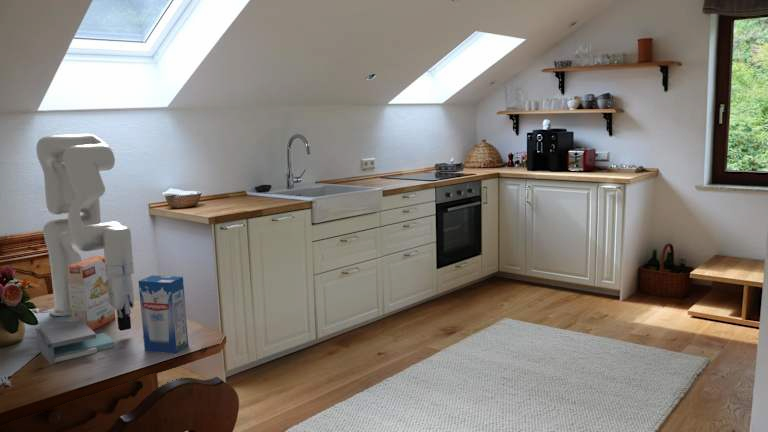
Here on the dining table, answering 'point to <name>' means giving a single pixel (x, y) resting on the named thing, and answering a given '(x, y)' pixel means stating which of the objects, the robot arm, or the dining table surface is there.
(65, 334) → the grey slotted box
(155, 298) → the milk carton
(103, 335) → the tile
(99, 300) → the cracker box
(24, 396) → the dining table surface
